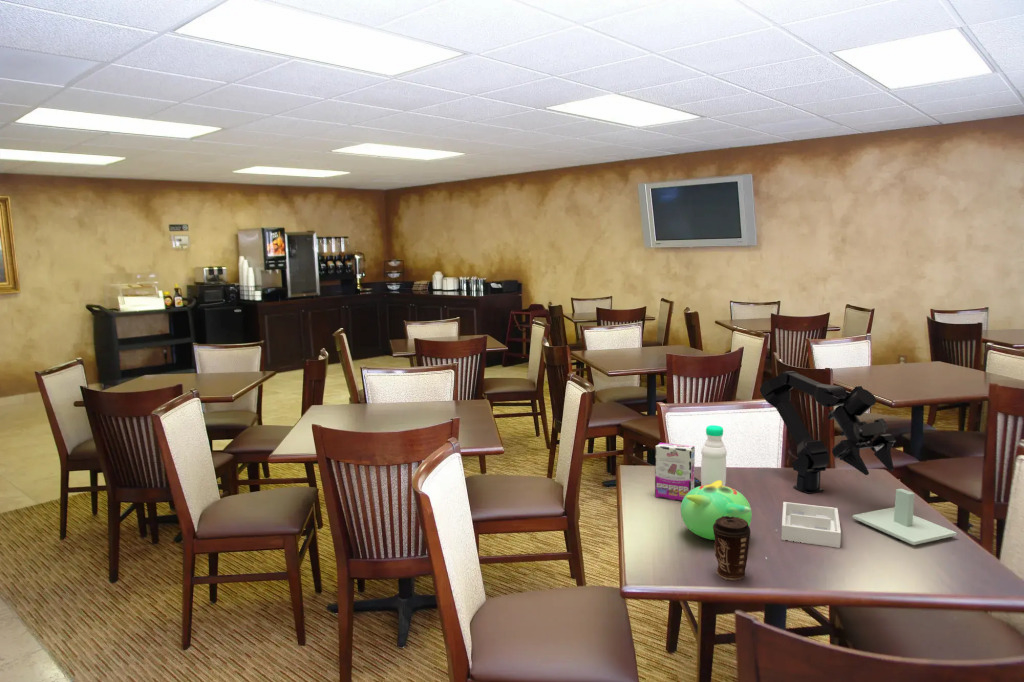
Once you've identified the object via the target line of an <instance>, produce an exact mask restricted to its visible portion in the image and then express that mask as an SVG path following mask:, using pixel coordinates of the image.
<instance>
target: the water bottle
mask: <svg viewBox="0 0 1024 682" xmlns="http://www.w3.org/2000/svg"><path fill="white" fill-rule="evenodd" d="M705 433H706V434H705V435H706V436H707V437H706V440H705V442H704V444H703V445H702V447H701V451H700V452H701V463H700V481H701V486H702V485H709V484H712V483H713V482H715V481H718V480H721V481H722V485H723V486H726V481H727V455H728V451H727V448H726V446H725V444H724V442H723V440H722V437H723V436H724V428H723V427H722V426H720V425H713V424H712V425H708V426H706V428H705Z"/></svg>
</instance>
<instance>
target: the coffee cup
mask: <svg viewBox="0 0 1024 682" xmlns="http://www.w3.org/2000/svg"><path fill="white" fill-rule="evenodd" d="M713 531H714V536H715V540H714V556H715V558H716V560H717V567H716V568H717V569H716V574H718V575H717V576H718V577H720V576H721V577H720V578H722V577H723V578H722V579H724V578H725V579H724V580H727V579H729V580H728V581H737V579H738V580H741V578H742V579H744V577H745V576H746V567H747V563H748V556H749V548H750V546H749V545H750V538H751V527H750V525H749V526H748V523H747V521H745V520H744V519H742V518H739V517H733V516H732V517H729V516H722V517H721V518H718V519H717V520H716V522H715V524H714V525H713Z"/></svg>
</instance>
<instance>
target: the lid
mask: <svg viewBox="0 0 1024 682" xmlns="http://www.w3.org/2000/svg"><path fill="white" fill-rule="evenodd" d="M914 506H915V493H914V492H913V491H910V490H907V489H903V488H898V489H897V488H896V489H895V500H894V506H893V507H887V508H883V509H878V510H877V509H876V510H872V511H866V512H862V513H856V514H853V515H852V519H854V520H856V521H859V522H861V523H863V524H865V525H867V526H869V527H871V528H873V529H876V530H878V531H880V532H883V533H885V534H887V535H889V536H891V537H893V538H896V539H898V540H901V541H903V542H905V543H907V544H910V546H911V545H913V546H916V545H920V544H924V543H929V542H933V541H937V540H941V539H946V538H950V537H955V536H957V534H958V533H957V531H954V530H951V529H949V528H947V527H945V526H942V525H939V524H936V523H935V522H932V521H929V520H927V519H924V518H922V517H919V516H916V515H914V510H915V509H914Z"/></svg>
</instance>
